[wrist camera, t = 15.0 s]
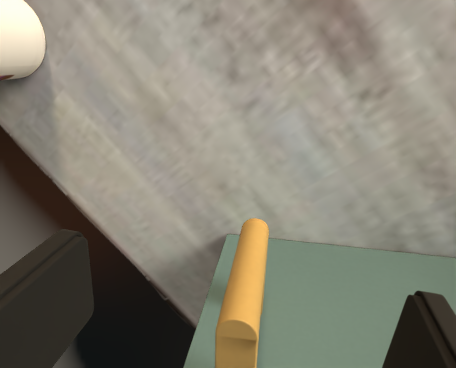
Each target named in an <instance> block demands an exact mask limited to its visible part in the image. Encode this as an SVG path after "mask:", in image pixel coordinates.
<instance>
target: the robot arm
mask: <svg viewBox="0 0 456 368" xmlns="http://www.w3.org/2000/svg"><path fill="white" fill-rule="evenodd" d="M93 311H94V299H93V289H92V280H91V270H90V261H89V250H88V242H87V239H86V238H84V237H83V235H82V233H81V232H77V231H71V230H65V229H61V230H59V231H58V232H56V233H55V234H54V235H52V236H51V237H50V238H48V239H47V240H46V241H44V242H43V243H42V244H40V245H39V246H38V247H36V248H35V249H34V250H33V251H31V252H30V253H28V254H27V255H26V256H24V257H23V258H22V259H20V260H19V261H18V262H17V263H15V264H14V265H12V266H11V267H10V268H9V269H7V270H6V271H4V272H3V273H2V274H1V275H0V368H52V367H53V366H54V364H55V363H56V362H57V360H58V359H59V358H60V357H61V355H62V354H63V353H64V352H65V350H66V349H67V348H68V346H69V345H70V344H71V342H72V341H73V340H74V339H75V337H76V336H77V335H78V333H79V332H80V331H81V329H82V328H83V327H84V326H85V324H86V323H87V322H88V320H89V319H90V317H91V316H92V314H93ZM382 368H456V315H455V313H454V311H453V310H452V308H451V306H450V305H449V303H448V302H447V300H446V298H445V297H444V296H443V295H441V294H437V293H431V292H425V291H416V292H415V293H414V295H408V296H407V298H406V301H405V304H404V306H403V309H402V312H401V315H400V318H399V321H398V323H397V326H396V329H395V332H394V335H393V337H392V340H391V343H390V346H389V349H388V352H387V354H386V357H385V360H384V363H383V366H382Z"/></svg>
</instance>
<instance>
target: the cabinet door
mask: <svg viewBox="0 0 456 368" xmlns="http://www.w3.org/2000/svg"><path fill="white" fill-rule="evenodd" d="M268 236H269V229H268V226H267V224H266V223H265V222H264V221H262V220H260V219H255V218H254V219H249V220H247V221H246V222H245V223H244V224H243V226H242V229H241V233H240V235H232V234H227V237H226V240H225V243H224V246H223V249H222V252H221V255H220V258H219V261H218V264H217V267H216V270H215V273H214V276H213V279H212V282H211V285H210V288H209V291H208V294H207V297H206V301H205V304H204V307H203V310H202V313H201V316H200V319H199V322H198V325H197V328H196V331H195V334H194V337H193V340H192V343H191V346H190V349H189V352H188V355H187V358H186V362H185V365H184V367H183V368H382V366H383V363H384V360H385V357H386V354H387V352H388V349H389V346H390V343H391V340H392V337H393V335H394V332H395V329H396V326H397V323H398V321H399V318H400V315H401V312H402V309H403V306H404V304H405V301H406V298H407V296H408V295H414V293H415V292H416V291H425V292H431V293H437V294H441V295H443V296H444V297H445V298H446V300H447V302H448V303H449V305H450V306H451V308H452V310H453V311H454V313H455V315H456V258H451V257H441V256H432V255H422V254H413V253H403V252H394V251H384V250H375V249H365V248H356V247H346V246H337V245H327V244H318V243H308V242H299V241H289V240H280V239H270V238H268Z"/></svg>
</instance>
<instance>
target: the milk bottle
mask: <svg viewBox="0 0 456 368" xmlns="http://www.w3.org/2000/svg"><path fill="white" fill-rule="evenodd" d="M45 44H46V42H45V35H44V31H43V28H42V25H41V23H40V21H39V19H38V17H37V15H36V14H35V12H34V11H33V10H32V9H31V8H30V6H29V5H28V4H27V3H26V2H25V1H23V0H0V80H8V79H17V78H23V77H26V76H29V75H31V74H32V73H33V72H34V71H35V70H36V69H37V68H38V67H39V66H40V64H41V63H42V60H43V58H44V54H45Z"/></svg>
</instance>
